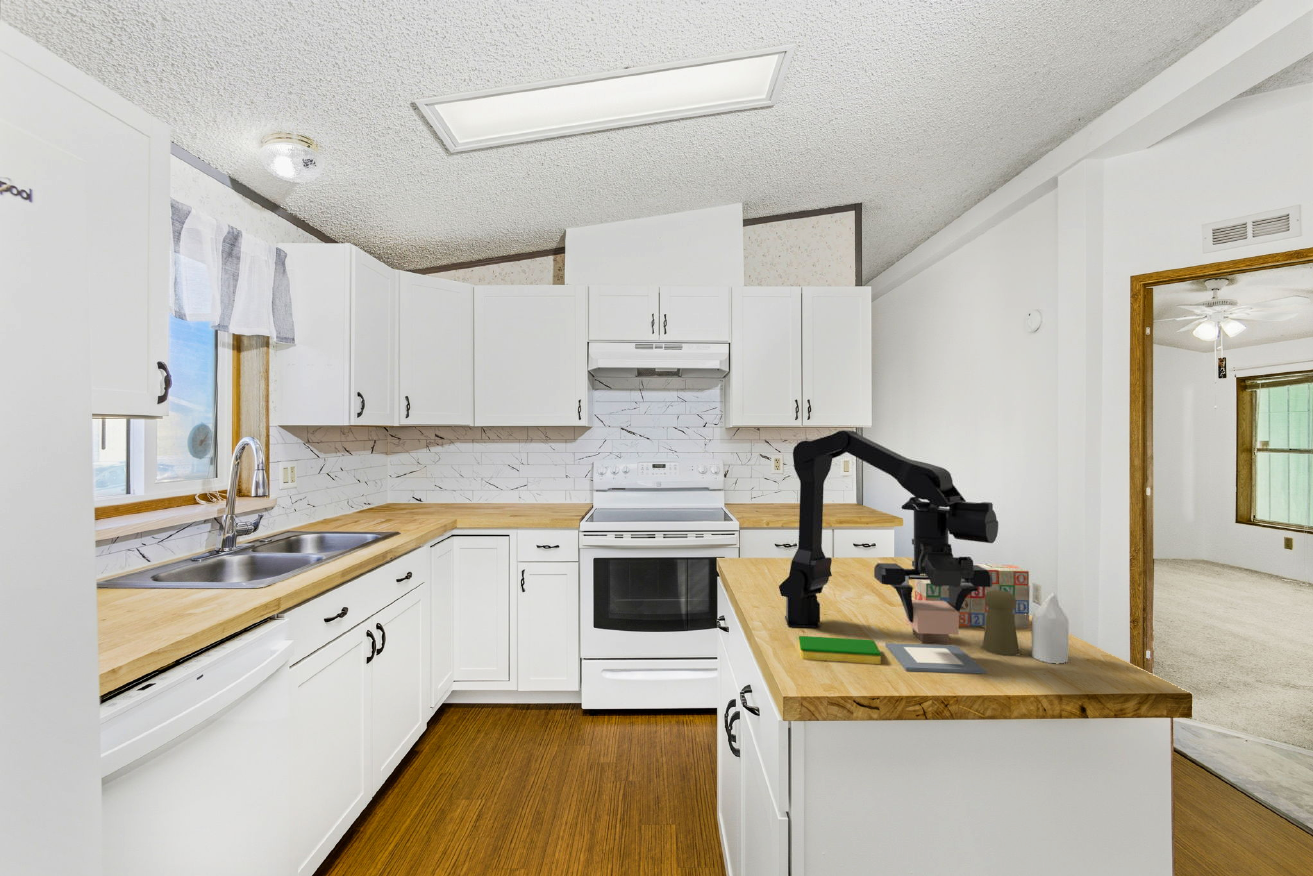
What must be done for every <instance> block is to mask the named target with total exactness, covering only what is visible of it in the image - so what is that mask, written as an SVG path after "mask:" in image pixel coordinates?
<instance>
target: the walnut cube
mask: <svg viewBox="0 0 1313 876" xmlns="http://www.w3.org/2000/svg"><path fill="white" fill-rule="evenodd" d="M911 628H912V627H911ZM912 636H913V637H914V638H916V639H917V640H918V641H919V643H920V644H931V645H950V640H949V638H950V637H949V636H950V634H928V633H917V632H916V631H915V630H914V629H913V628H912Z"/></svg>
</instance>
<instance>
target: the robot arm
mask: <svg viewBox="0 0 1313 876" xmlns="http://www.w3.org/2000/svg"><path fill="white" fill-rule="evenodd" d="M846 453H848V454H849V455H851V456H853V457H855V458H857V459H859V460H861V461H862V462H865V463H867V464H868V465H870V466H872V467H874V468H875V469H878V470H880V471H881V472H883V473H885V474H886V475H889V476H890V477H892V478H893V479H895V480H896V481H897V483H898V484H899V485H900V486H901V488H904V490H906V491H907V492H908V493H910V494H911V495H912V497H910V498H909V499H908V500H907V501H906V502H905V503H904V504H901V509H902V510H904V511H905V510H906V511H913V538H911V545H912V546H913V560H912V561H911V566H912V568H903V566H900V565H899V564H897V563H892V562H891V563H887V562H886V563H884V562H883V563H881V562H880V563H876V564H875V566H874V569H873V573H874V575H873V576H874V577H873V578H874V579H875V580H877V581H878V582H879V583H881V584H882V585H886V586H887V585H888V586H891V587H892V588H893V589H895V592H897V596H899V598H900V601H901V603H902V606H903V610H904V611H905V614H907V617H908V620H909V621H910V622H913V606H912V600H913V599H912V593H913V591H914V587H913V586H912V585H910V580H915V579H919V580H930V583H931V584H932V585H934V586H938V587H941V586H949V605H950V606H952V607H953V608H954V609H956V610H957V611H958V612H959V611H960V609H961V606H962V604H963V602H964V600H965V599H966V597H967V596H968V595H969V594H970V593H971V592H973V591H977V590H978V588H977V587H992V576H991V573H990V572H989V571H988V570H986V569H984V568H982V567H980V566H978V565H973V564H974V560H973V559H972V558H971V556H958V557H956V556H955V557H954V555H953V548H952V544H951V543H949V538H950V537H949V535H952V536H953V537H954V539H956V540H962V541H968V542H969V541H971V542H979V543H985V544H993V543H994V542H995V541H996V540H997V536H998V534H999V520H997V514H996V512H995V511H994V509H993V507H994V504H993V503H992V502H990V501H989V502H987V501H982V502H972V501H967V500H966V499H965V498H964V497H963V495H962V494H961V492H960V491H959V489H957V487H956V486H955V485H954V484H953V483H954V482H953V478H952V474H951V472H949V471H948V470H947V469H946V468H945V467H941V466H937V465H934V464H931V463H927V462H923V461H919V460H913V459H910V458H907V457H905V456H904V455H901V454H899V453H897V452H895V451H893V450H891V449H889V448H887V447H885V446H883V445H881V444H879V443H876V442H875V441H873V440H871V439H868V438H866V437H865V436H863V435H861V434H859V433H858V432H857V431H855V430H852V429H851V430H849V429H845V430H844V429H843V430H838V431H837V432H834V433H832V434H829V435H826V436H822V437H820V438H819V437H818V438H816V439H813V440H801V441H799V442H798V443H797V444H796V445H795V446H794V447H793V450H792V460H793V468H794V471H795V473H796V476H797V478H798V479H799V484H800V485H799V486H800V487H799V512H798V513H799V515H798V516H799V517H798V543H797V544H798V546H797V549H796V551H795V554H794V555H793V557H792V559H791V563H790V566H789V567H790V569H789V573H788V577H787V578H786V579H784V580H783V581H782V583H780V584H779V585H778V590H779V593H780V596H781V597H785V615H784V620H785V622H786V624H787V627H789V628H790V627H791V628H819V627H820V622H821V603H820V602H819V600H818V596H817V594H822V591H823V588H824V586H826V585H827V584H828V582H829V579H830V577H832V572H831V571H832V570H831V565H832V557H828V556H827V557H826V554H825V553H824V551H823V546H822V545H823V522H824V521H823V517H824V516H823V514H824V512H823V511H824V484H825V481H826V478H827V477H828V476H829V473H830V471H831V469H832V462H833V459H835V458H837V457H841V456H843V455H844V454H846ZM924 500H926V501H924Z"/></svg>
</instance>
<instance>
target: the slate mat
mask: <svg viewBox="0 0 1313 876" xmlns="http://www.w3.org/2000/svg"><path fill="white" fill-rule="evenodd" d="M885 648H886V649H887V650H888V651H889V652H890V653H891V655H892V656H893V658H895V659H896V661H897V662H898V663H899V664H900V665H901V667H902V668H903V669H904V670H905V671H906V672H926V673H927V672H929V673H955V674H956V673H958V674H959V673H961V674H982V675H983V674H984V675H986V674H987V671H986V669H985V668H984V667H983V666H982V665H980V664H979V663H978V662H976V660H975V659H973V658H972V657H971V656H969V655H968V653H966V652H965V651H964V650H963V649H961V648H960V646H958V645H957V644H926V643H896V642H894V643H893V642H892V643H890V642H888V643H887V642H886V643H885Z"/></svg>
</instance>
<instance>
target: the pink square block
mask: <svg viewBox="0 0 1313 876" xmlns="http://www.w3.org/2000/svg"><path fill="white" fill-rule="evenodd" d="M912 606H913V622H910V621H909V620H908V617H907V614H906V613H905V614H906V615H905V618H906V623H907V624H908V625H909V626H910V627H911V628H913V629H914V630H915V631H916V632H917V633H928V634H949V635H954V636H955V635H959V632H960V631H959V630H960V626H959V612H958V611H957V610H956V609H954V608H953V607H952V606H950V605H949V604H948V603H946V602H945V601H927V600H915V599H912ZM913 629H912V630H913Z"/></svg>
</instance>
